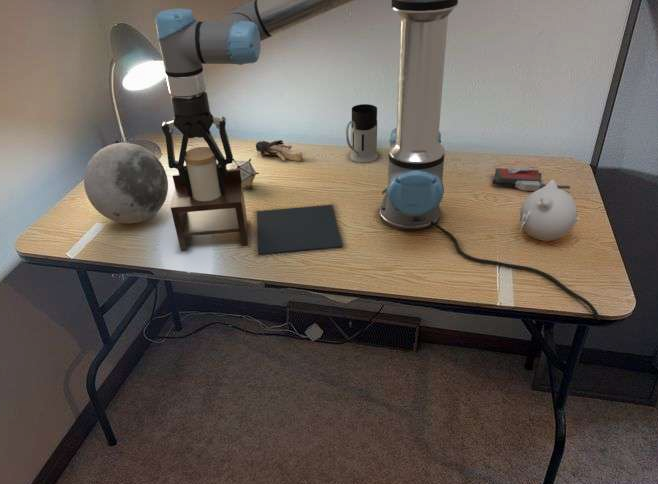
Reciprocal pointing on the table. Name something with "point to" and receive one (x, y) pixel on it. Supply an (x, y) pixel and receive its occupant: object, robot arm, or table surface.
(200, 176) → the canister
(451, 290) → the table surface
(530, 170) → the walkie-talkie
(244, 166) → the spiked polyhedron
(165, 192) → the moon model
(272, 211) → the mat
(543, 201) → the grey round piece
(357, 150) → the glass holder
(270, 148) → the toy figure
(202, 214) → the shelf
